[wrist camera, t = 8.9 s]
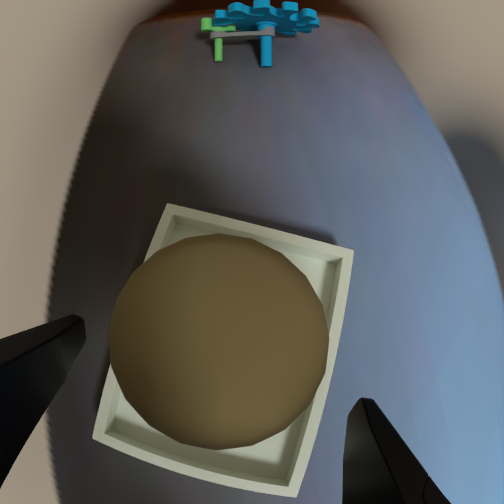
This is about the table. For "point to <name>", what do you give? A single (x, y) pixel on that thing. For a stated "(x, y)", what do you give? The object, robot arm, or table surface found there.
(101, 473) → the table surface
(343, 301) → the tray
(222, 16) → the gear
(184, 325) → the cork
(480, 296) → the table surface
